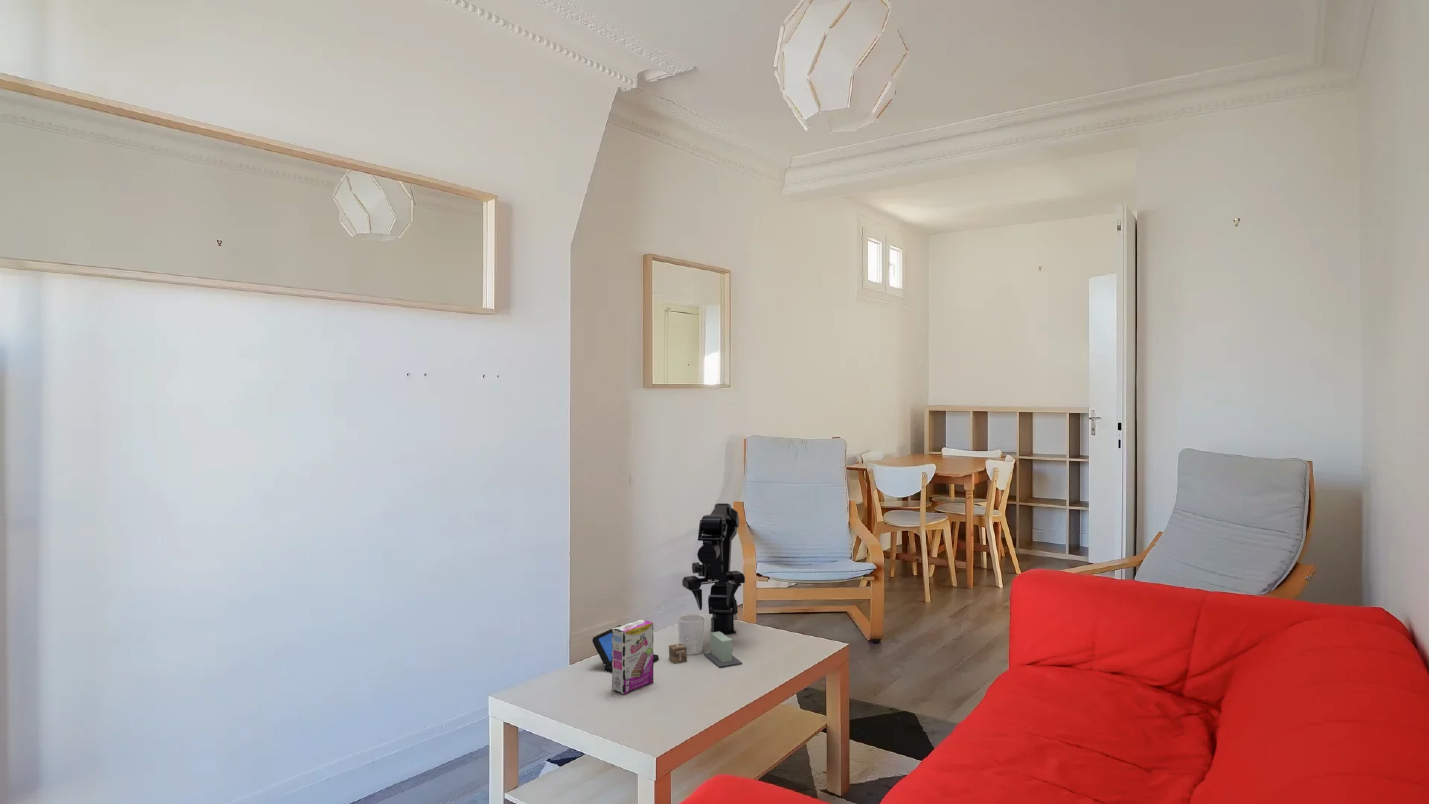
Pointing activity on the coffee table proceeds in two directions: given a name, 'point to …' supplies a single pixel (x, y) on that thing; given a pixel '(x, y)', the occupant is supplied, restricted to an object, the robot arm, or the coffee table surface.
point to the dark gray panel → (722, 664)
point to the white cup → (691, 633)
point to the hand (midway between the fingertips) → (714, 608)
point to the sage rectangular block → (721, 646)
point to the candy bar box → (632, 656)
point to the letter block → (677, 653)
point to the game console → (608, 648)
